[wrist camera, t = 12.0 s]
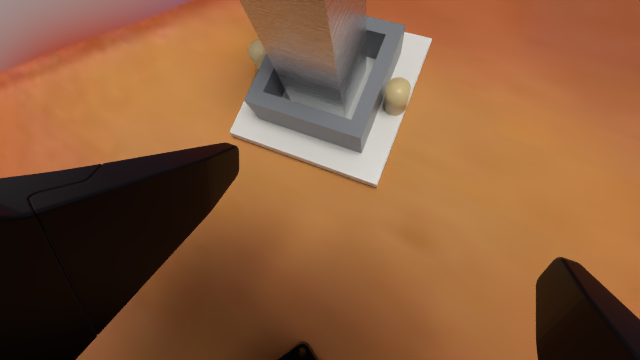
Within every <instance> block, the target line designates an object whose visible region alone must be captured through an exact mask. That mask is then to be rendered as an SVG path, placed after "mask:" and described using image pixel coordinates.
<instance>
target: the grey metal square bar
mask: <svg viewBox="0 0 640 360" xmlns="http://www.w3.org/2000/svg"><path fill="white" fill-rule="evenodd" d="M240 2H241V4H242V6H243V8H244V10H245V12H246V14H247V16H248V18H249V20H250V22H251V24H252V25H253V27H254V29H255V31H256V33H257V35H258V37H259V39H260V41H261V43H262V45H263V47H264V49H265V51H266V53H267V55H268V57H269V59H270V61H271V63H272V65H273V67H274V69H275V71H276V72H277V74H278V76H279V78H280V80H281V82H282V84H283V86H284V88H285V90H286V92H287V94H288V96H289V98H290V100H291V101H294V102H297V103H300V104H303V105H306V106H310V107H313V108H316V109H319V110H322V111H325V112H329V113H332V114H335V115H338V116H341V117H344V118H346V117H347V115H348V113H349V110H350V108H351V105H352V103H353V101H354V98H355V96H356V93H357V91H358V89H359V86H360V84H361V81H362V79H363V77H364V74H365V72H366V69H367V47H366V0H240Z"/></svg>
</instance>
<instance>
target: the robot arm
mask: <svg viewBox="0 0 640 360" xmlns="http://www.w3.org/2000/svg"><path fill="white" fill-rule="evenodd" d="M238 172H239V149H238V147H237V146H235V145H232V144H229V143H219V144H213V145H208V146H202V147H196V148H190V149H184V150H179V151H173V152H167V153H161V154H156V155H150V156H144V157H138V158H132V159H127V160H121V161H115V162H109V163H104V164H103V165H101V164H97V165H91V166H86V167H79V168H73V169H67V170H61V171H53V172H46V173H38V174H31V175H23V176H15V177H7V178H0V360H76V359H77V358H78V356H79V355H80V354H81V353H82V352H83V351H84V350H85V349H86V348H87V347H88V346H89V344H90V343H91V342H92V341H93V340H94V339H95V338H96V337H97V335H98V334H99V333H100V332H101V331H102V330H103V329H104V328H105V327H106V326H107V324H108V323H109V322H110V321H111V320H112V319H113V318H114V317H115V316H116V315H117V314H118V312H119V311H120V310H121V309H122V308H123V307H124V306H125V305H126V304H127V303H128V302H129V300H130V299H131V298H132V297H133V296H134V295H135V294H136V293H137V292H138V291H139V290H140V288H141V287H142V286H143V285H144V284H145V283H146V282H147V281H148V280H149V279H150V278H151V276H152V275H153V274H154V273H155V272H156V271H157V270H158V269H159V268H160V267H161V265H162V264H163V263H164V262H165V261H166V260H167V259H168V258H169V257H170V256H171V255H172V253H173V252H174V251H175V250H176V249H177V248H178V247H179V246H180V245H181V244H182V243H183V241H184V240H185V239H186V238H187V237H188V236H189V235H190V234H191V233H192V232H193V231H194V229H195V228H196V227H197V226H198V225H199V224H200V223H201V222H202V221H203V220H204V219H205V217H206V216H207V215H208V214H209V213H210V212H211V211H212V209H213V208H214V207H215V205H216V204H217V203H218V201H219V200H220V199H221V197H222V196H223V194H224V193H225V192H226V190H227V189H228V188H229V186H230V185H231V183H232V182H233V181H234V179H235V178H236V176H237V175H238ZM536 345H537V355H538V360H640V319H639V318H637V317H636V316H635V315H634V314H633V313H632V312H631V311H630V310H629V309H628V308H627V307H626V306H625V305H623V304H622V303H621V302H620V301H619V300H618V299H617V298H616V297H615V296H614V295H613V294H612V293H611V292H610V291H608V290H607V289H606V288H605V287H604V286H603V285H602V284H601V283H600V282H599V281H598V280H597V279H596V278H595V277H593V276H592V275H591V274H590V273H589V272H588V271H587V270H586V269H585V268H584V267H583V266H582V265H581V264H579V263H577V262H575V261H572V260H569V259H566V258H563V257H558V258H556V259H555V260H553V262H552V263H551V264H550V265H549V266H548V267H547V268H546V270H545V271H544V272H543V273H542V274H541V275H540V277H539V278H538V280H537V283H536ZM300 348H304V349H305V350H306V354H301V353H300ZM277 360H318V359H317V357H316V355H315V354H314V352H313V350H312V349H311V347H310V346H309V344H308V343H306V342H301V343H299V344H298V345H296V346H295V347H294V348H292V349H291V350H289V351H288V352H287V353H285V354H284V355H282V356H281V357H280V358H278V359H277Z"/></svg>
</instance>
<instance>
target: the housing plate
mask: <svg viewBox="0 0 640 360" xmlns="http://www.w3.org/2000/svg"><path fill="white" fill-rule="evenodd" d="M405 26H406V25H402V24H398V23H394V22H390V21H385V20H381V19H377V18H373V17H368V16H366V47H367V69H366V72H365V74H364V77H363V79H362V81H361V84H360V86H359V89H358V91H357V93H356V96H355V98H354V101H353V103H352V105H351V108H350V110H349V113H348V115H347V117H346V118H344V117H341V116H338V115H335V114H332V113H329V112H325V111H322V110H319V109H316V108H313V107H310V106H306V105H303V104H300V103H297V102H294V101H291V100H290V98H289V96H288V94H287V92H286V90H285V88H284V86H283V84H282V82H281V80H280V78H279V76H278V74H277V72H276V71H275V69H274V67H273V65H272V63H271V61H270V59H269V57H268V55H267V53H266V51H265V49H264V47H263V45H262V43H261V41H260V39H259V40H255V41H254V42H252V43H251V44H250V46H249V48H248V53H249V55H250V57H251V58H252V60H253V62H254V63H255V65H256V67H257V68H258V72H257V74H256V76H255V79H254V81H253V83H252V85H251V87H250V89H249V91H248V93H247V96H246V98H245V100H244V103H243V105H242V107H241V109H240V111H239V113H238V115H237V117H236V120H235V122H234V124H233V126H232V128H231V130H230V133H231V134H232V135H233V136H234V137H236V138H239V139H242V140H245V141H247V142H250V143H253V144H256V145H259V146H261V147H264V148H267V149H270V150H273V151H275V152H278V153H281V154H284V155H286V156H289V157H292V158H295V159H298V160H300V161H303V162H306V163H309V164H311V165H314V166H317V167H320V168H323V169H325V170H328V171H331V172H334V173H337V174H339V175H342V176H345V177H348V178H350V179H353V180H356V181H359V182H362V183H364V184H367V185H370V186H373V187H375V188H377V186H378V183H379V180H380V178H381V175H382V172H383V170H384V167H385V164H386V162H387V159H388V156H389V154H390V151H391V148H392V146H393V143H394V140H395V138H396V135H397V132H398V130H399V127H400V124H401V122H402V119H403V116H404V114H405V111H406V109H407V106H408V103H409V101H410V98H411V95H412V93H413V90H414V87H415V85H416V82H417V79H418V77H419V74H420V71H421V69H422V66H423V63H424V61H425V58H426V55H427V53H428V50H429V47H430V44H431V41H432V39H431V38H427V37H423V36H419V35H415V34H411V33H406V32H405Z"/></svg>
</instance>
